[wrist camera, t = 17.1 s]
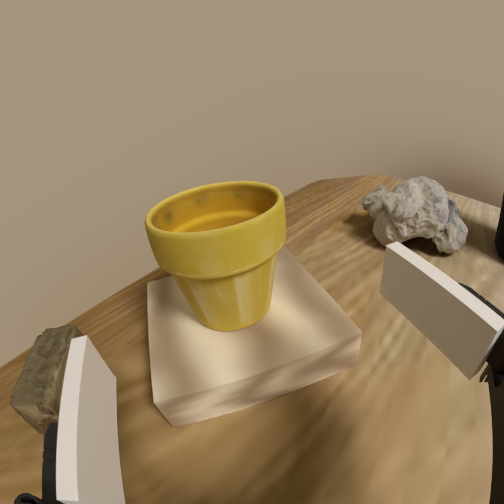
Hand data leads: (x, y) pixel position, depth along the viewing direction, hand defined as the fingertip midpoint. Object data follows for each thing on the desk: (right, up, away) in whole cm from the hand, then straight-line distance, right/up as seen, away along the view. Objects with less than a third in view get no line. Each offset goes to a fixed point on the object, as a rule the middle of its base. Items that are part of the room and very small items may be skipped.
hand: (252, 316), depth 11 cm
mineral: (+23, +4, +27) cm, 36 cm away
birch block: (-1, -6, +16) cm, 17 cm away
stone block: (-19, -12, +11) cm, 25 cm away
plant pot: (-1, -2, +14) cm, 15 cm away
